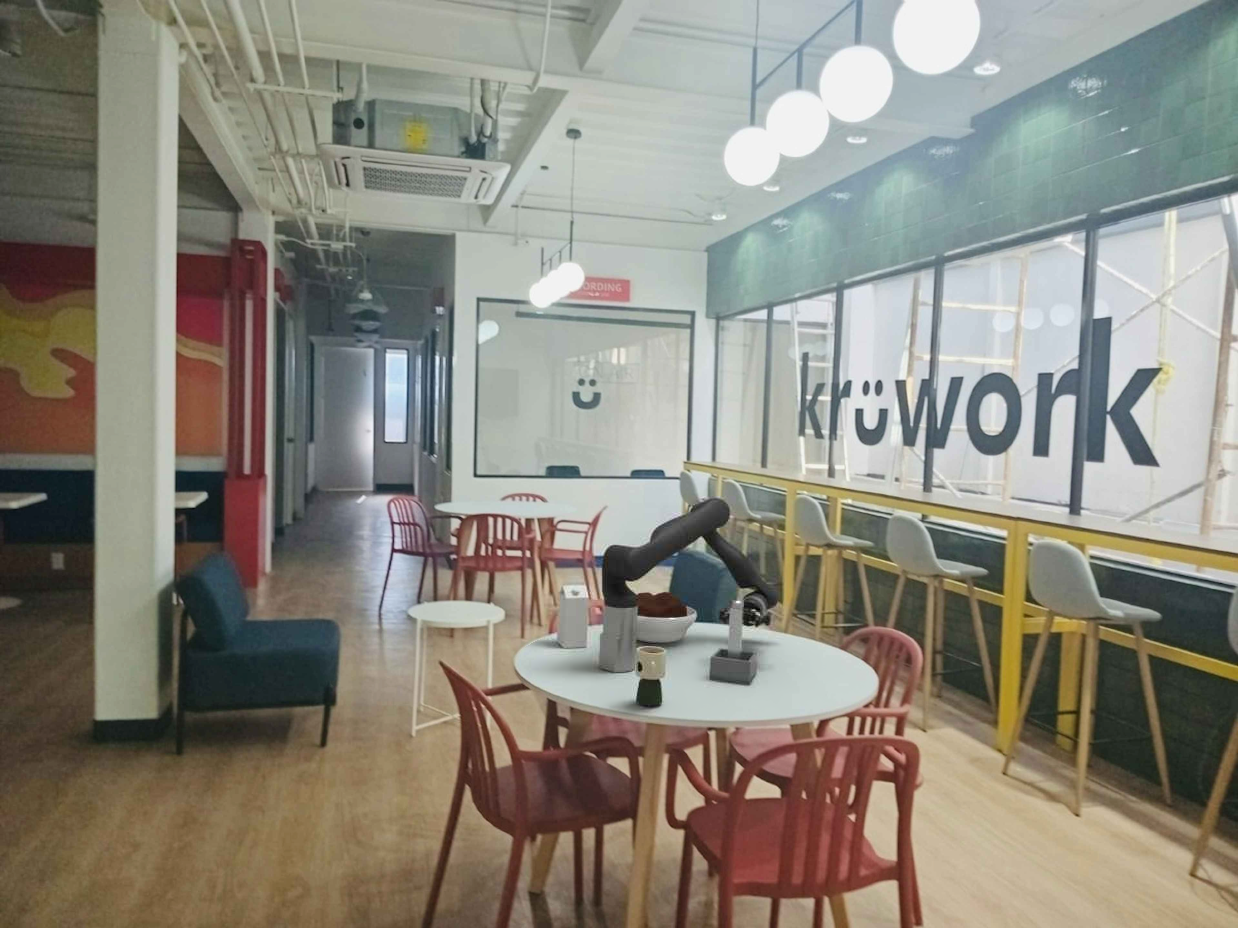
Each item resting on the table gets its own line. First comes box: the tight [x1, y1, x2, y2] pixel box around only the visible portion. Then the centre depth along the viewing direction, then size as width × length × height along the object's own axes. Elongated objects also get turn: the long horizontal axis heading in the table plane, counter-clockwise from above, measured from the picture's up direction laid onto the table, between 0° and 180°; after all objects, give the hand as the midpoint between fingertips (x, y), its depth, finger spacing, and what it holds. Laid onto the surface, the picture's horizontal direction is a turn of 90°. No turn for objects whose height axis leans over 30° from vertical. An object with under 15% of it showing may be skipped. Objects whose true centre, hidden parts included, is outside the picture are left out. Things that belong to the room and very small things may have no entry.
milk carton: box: [556, 581, 590, 649], centre depth 257 cm, size 7×7×19 cm
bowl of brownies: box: [636, 591, 698, 644], centre depth 268 cm, size 25×25×15 cm
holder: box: [709, 647, 758, 686], centre depth 231 cm, size 11×11×6 cm
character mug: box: [635, 645, 667, 707], centre depth 205 cm, size 11×7×13 cm, turn 3°
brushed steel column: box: [727, 599, 744, 660], centre depth 230 cm, size 5×5×20 cm
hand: (740, 621), depth 237 cm, fingers open, 8 cm apart
